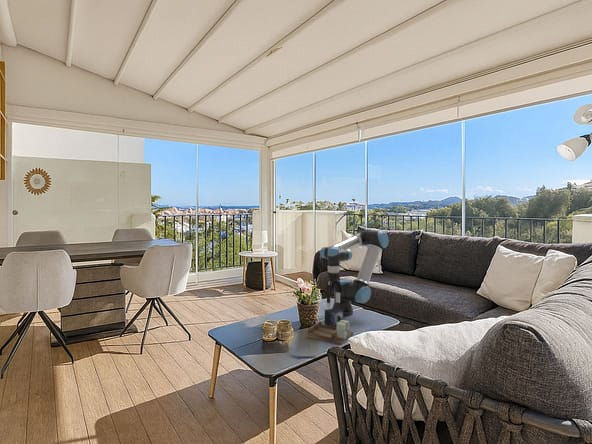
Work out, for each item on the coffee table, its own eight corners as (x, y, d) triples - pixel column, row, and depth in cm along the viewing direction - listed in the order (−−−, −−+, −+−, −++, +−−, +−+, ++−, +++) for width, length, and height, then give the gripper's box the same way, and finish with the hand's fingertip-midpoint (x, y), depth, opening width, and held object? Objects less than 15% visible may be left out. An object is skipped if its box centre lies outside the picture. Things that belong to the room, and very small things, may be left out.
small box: (328, 328, 225) (328, 312, 224) (324, 325, 231) (324, 309, 230) (343, 326, 229) (343, 310, 228) (338, 323, 235) (338, 307, 234)
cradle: (320, 327, 227) (320, 312, 226) (353, 334, 215) (353, 318, 215) (306, 337, 211) (306, 321, 211) (341, 344, 200) (341, 327, 199)
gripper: (336, 268, 240) (336, 299, 241) (319, 274, 219) (319, 309, 220) (346, 269, 236) (346, 301, 237) (330, 276, 215) (330, 311, 216)
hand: (333, 305), depth 229 cm, fingers open, 13 cm apart
